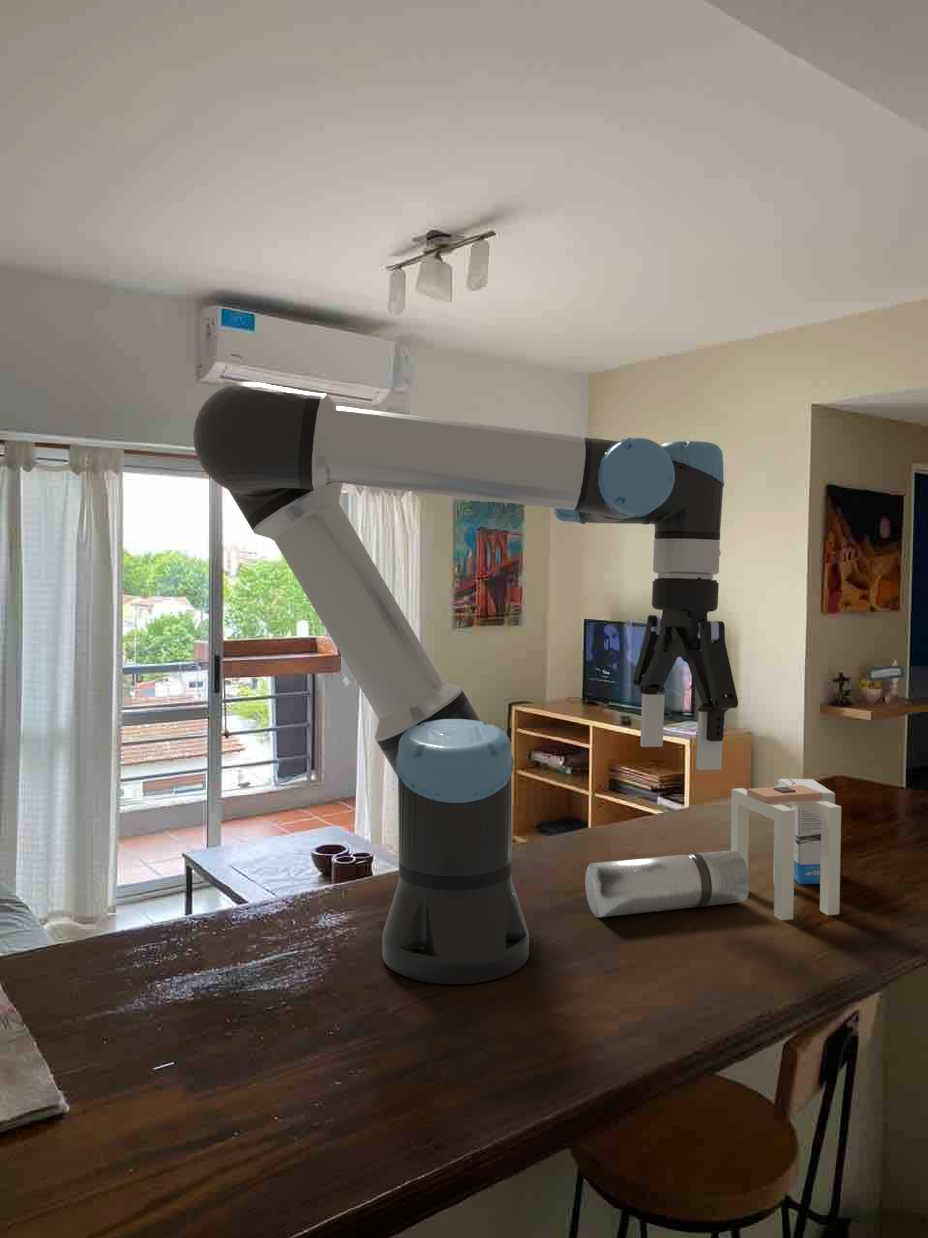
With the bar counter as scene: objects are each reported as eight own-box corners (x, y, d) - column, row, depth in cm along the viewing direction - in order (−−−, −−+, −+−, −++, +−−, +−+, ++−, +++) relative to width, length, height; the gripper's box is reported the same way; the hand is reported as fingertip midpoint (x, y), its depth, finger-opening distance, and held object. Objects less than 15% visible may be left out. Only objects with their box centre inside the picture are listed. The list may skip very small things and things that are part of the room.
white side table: (781, 920, 106) (783, 802, 105) (730, 888, 116) (731, 780, 116) (839, 914, 108) (841, 798, 107) (783, 883, 118) (785, 777, 118)
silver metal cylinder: (609, 916, 103) (600, 859, 106) (589, 919, 109) (582, 866, 111) (754, 900, 108) (743, 846, 110) (728, 904, 113) (718, 853, 116)
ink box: (836, 885, 118) (838, 792, 117) (796, 885, 118) (798, 792, 117) (812, 864, 126) (814, 777, 126) (775, 863, 126) (776, 777, 126)
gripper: (777, 579, 99) (768, 779, 100) (663, 576, 122) (657, 737, 124) (713, 577, 96) (705, 781, 98) (610, 574, 120) (604, 738, 121)
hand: (678, 757), depth 111 cm, fingers open, 13 cm apart
